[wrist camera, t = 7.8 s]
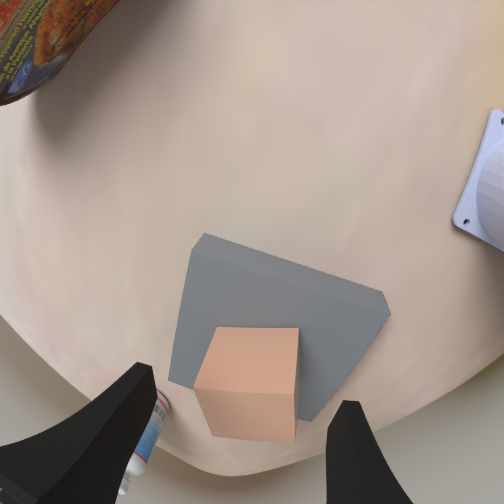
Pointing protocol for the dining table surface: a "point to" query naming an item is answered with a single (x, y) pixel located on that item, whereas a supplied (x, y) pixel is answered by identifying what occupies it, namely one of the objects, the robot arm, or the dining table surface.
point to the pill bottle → (146, 443)
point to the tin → (41, 40)
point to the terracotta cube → (251, 383)
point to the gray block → (275, 314)
